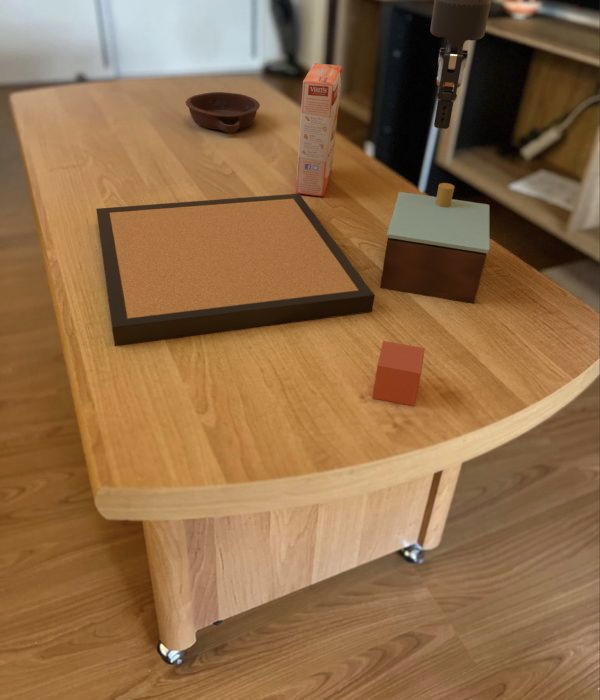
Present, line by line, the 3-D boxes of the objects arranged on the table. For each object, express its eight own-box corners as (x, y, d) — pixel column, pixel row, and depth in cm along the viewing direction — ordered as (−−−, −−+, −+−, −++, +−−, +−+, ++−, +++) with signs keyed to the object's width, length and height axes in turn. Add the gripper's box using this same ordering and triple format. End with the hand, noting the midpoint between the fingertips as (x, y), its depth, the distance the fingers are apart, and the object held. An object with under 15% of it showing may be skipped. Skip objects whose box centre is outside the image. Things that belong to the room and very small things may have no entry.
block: (417, 380, 78) (424, 348, 75) (414, 406, 74) (421, 373, 71) (377, 372, 79) (383, 340, 76) (371, 398, 75) (377, 365, 72)
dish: (190, 139, 142) (189, 116, 139) (183, 109, 159) (182, 89, 156) (267, 137, 146) (267, 115, 143) (251, 109, 163) (251, 88, 160)
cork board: (372, 311, 90) (298, 207, 116) (374, 294, 88) (299, 193, 115) (114, 345, 80) (98, 224, 107) (112, 327, 78) (96, 208, 105)
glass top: (488, 208, 101) (494, 186, 98) (488, 253, 88) (494, 230, 86) (398, 194, 103) (402, 173, 101) (386, 237, 90) (389, 214, 88)
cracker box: (325, 198, 120) (335, 83, 108) (294, 194, 121) (300, 79, 108) (334, 171, 132) (343, 64, 119) (305, 168, 132) (312, 61, 119)
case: (475, 254, 106) (486, 209, 101) (474, 303, 93) (486, 255, 88) (392, 240, 108) (399, 196, 103) (380, 287, 95) (387, 239, 90)
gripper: (492, 7, 80) (467, 136, 89) (490, -7, 91) (468, 109, 101) (432, 2, 81) (413, 130, 90) (437, -11, 92) (420, 104, 102)
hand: (442, 119), depth 95 cm, fingers open, 8 cm apart
